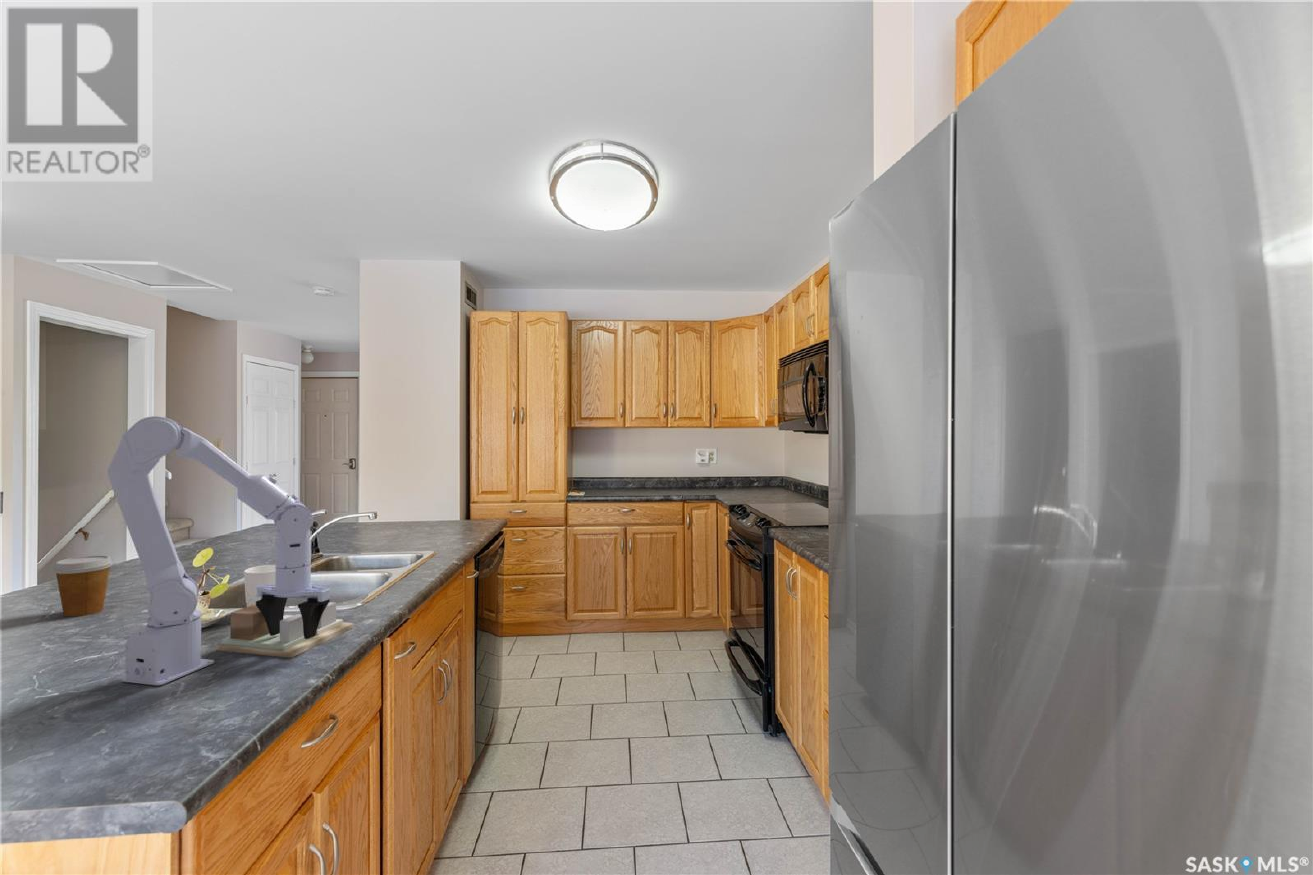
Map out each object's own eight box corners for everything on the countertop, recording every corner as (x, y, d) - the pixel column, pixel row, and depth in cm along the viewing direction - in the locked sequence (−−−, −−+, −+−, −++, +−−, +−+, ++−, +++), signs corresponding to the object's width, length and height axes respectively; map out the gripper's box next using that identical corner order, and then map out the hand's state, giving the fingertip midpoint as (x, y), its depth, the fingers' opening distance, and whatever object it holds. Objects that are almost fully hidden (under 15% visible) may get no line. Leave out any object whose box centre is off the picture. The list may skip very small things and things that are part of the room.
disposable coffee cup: (66, 608, 130) (66, 557, 129) (120, 603, 134) (120, 553, 134) (42, 621, 121) (43, 566, 121) (101, 616, 125) (101, 562, 125)
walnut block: (252, 640, 107) (252, 614, 107) (230, 638, 108) (230, 612, 108) (275, 631, 112) (275, 606, 112) (253, 629, 113) (253, 604, 113)
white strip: (318, 634, 112) (318, 610, 112) (258, 629, 115) (258, 606, 115) (343, 623, 119) (343, 600, 119) (286, 618, 122) (286, 596, 121)
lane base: (291, 657, 103) (291, 652, 103) (218, 650, 106) (218, 645, 106) (353, 628, 119) (353, 623, 119) (288, 622, 122) (288, 617, 122)
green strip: (284, 649, 104) (285, 624, 104) (221, 643, 107) (221, 618, 107) (313, 636, 111) (313, 612, 111) (253, 631, 114) (253, 607, 114)
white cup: (293, 607, 133) (293, 565, 132) (267, 618, 125) (267, 573, 125) (262, 606, 133) (263, 564, 133) (234, 616, 126) (235, 572, 125)
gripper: (341, 562, 111) (341, 631, 111) (278, 558, 113) (278, 625, 113) (313, 571, 104) (313, 644, 104) (247, 566, 106) (246, 638, 106)
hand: (292, 635), depth 108 cm, fingers open, 7 cm apart
